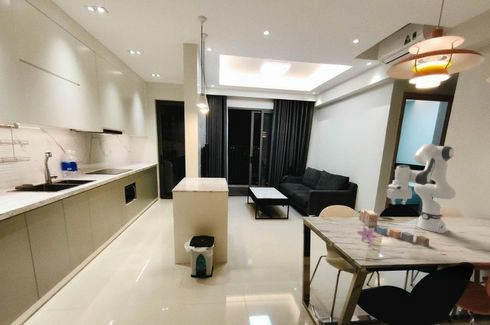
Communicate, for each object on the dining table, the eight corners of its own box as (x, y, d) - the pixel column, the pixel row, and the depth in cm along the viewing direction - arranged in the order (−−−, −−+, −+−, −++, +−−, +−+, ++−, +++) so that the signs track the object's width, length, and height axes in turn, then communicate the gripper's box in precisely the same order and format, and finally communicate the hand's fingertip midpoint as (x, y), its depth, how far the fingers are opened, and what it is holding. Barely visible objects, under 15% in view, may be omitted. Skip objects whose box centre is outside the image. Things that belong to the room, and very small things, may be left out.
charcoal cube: (405, 238, 151) (406, 231, 151) (412, 241, 146) (413, 234, 146) (400, 238, 150) (401, 232, 149) (407, 241, 145) (408, 235, 144)
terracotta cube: (394, 235, 156) (394, 228, 155) (400, 238, 151) (401, 231, 150) (389, 235, 154) (389, 229, 154) (395, 238, 150) (396, 232, 149)
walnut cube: (420, 242, 146) (421, 235, 145) (428, 245, 141) (429, 238, 140) (415, 242, 144) (416, 236, 144) (423, 246, 139) (424, 239, 139)
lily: (353, 238, 150) (354, 229, 145) (364, 230, 153) (366, 222, 148) (368, 250, 140) (370, 241, 135) (380, 242, 143) (382, 233, 138)
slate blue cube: (381, 231, 161) (381, 225, 161) (386, 234, 156) (387, 228, 156) (376, 232, 160) (376, 226, 159) (381, 234, 155) (382, 228, 155)
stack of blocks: (358, 218, 188) (360, 206, 187) (366, 219, 187) (367, 207, 186) (368, 228, 167) (369, 214, 166) (376, 229, 166) (378, 214, 165)
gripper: (407, 185, 155) (404, 202, 156) (386, 185, 150) (384, 203, 151) (415, 187, 149) (413, 205, 150) (394, 187, 144) (391, 205, 145)
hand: (398, 204), depth 151 cm, fingers open, 8 cm apart
